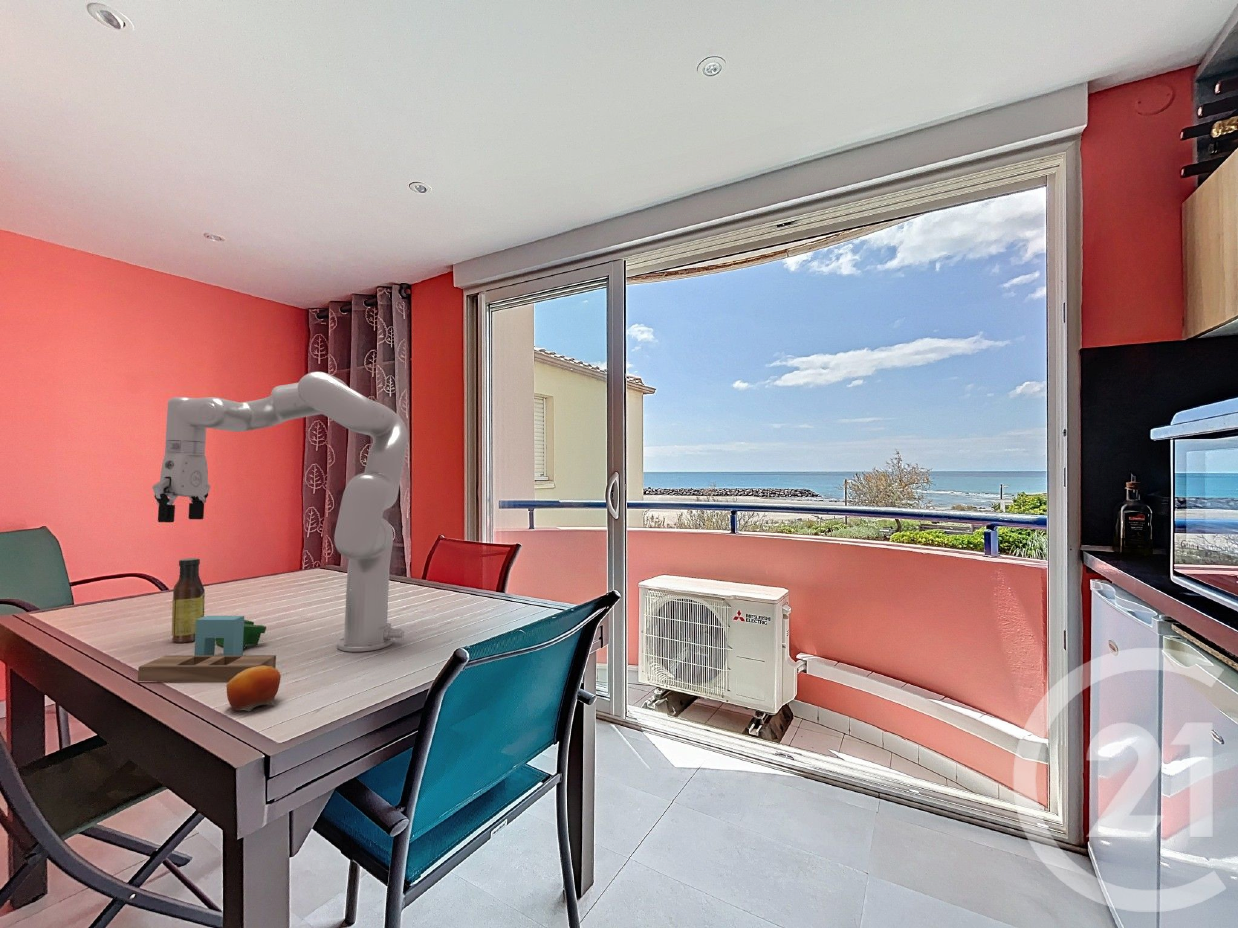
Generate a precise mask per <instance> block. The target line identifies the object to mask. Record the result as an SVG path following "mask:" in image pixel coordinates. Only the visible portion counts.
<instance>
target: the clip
mask: <svg viewBox="0 0 1238 928" xmlns="http://www.w3.org/2000/svg"><path fill="white" fill-rule="evenodd" d="M244 620H245V615H204V617H202V618H199V619H196V631H195V641H194V650H193V651H194V653H193V654H194V655H216V654H215V649H216V642H215V639H216V638H224V647H223V649H222V650H223V652H222V653H223V654H222V655H243V654H244V653H243V651H244V649H243V633H244Z"/></svg>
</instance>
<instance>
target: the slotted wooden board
mask: <svg viewBox="0 0 1238 928" xmlns="http://www.w3.org/2000/svg"><path fill="white" fill-rule="evenodd" d="M276 660H277V655H276V654H275V655H274V654H272V655H271V654H269V655H268V654H266V655H265V654H264V655H262V654H261V655H259V654H257V655H256V654H255V655H254V654H253V655H251V654H250V655H248V654H247V655H243V654H242V655H223V654H222V655H219V654H218V655H217V654H215V655H193V654H191V655H186V654H185V655H180V654H179V655H164V656H160V657H158V658H157V659H154V660H151V661H149V662H147V663H144V664H142V665H140V666H138V672H137V682H138V681H157V682H156V683H228V682H229V681H230V680H231V679H232V678H234V677H235V676H236V675H237V674H238V673H240V672H242V671H244V670H246V669H248V668H251V667H257V666H271V667H273V668H275V669H276V664H277V663H276V662H277V661H276Z"/></svg>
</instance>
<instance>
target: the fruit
mask: <svg viewBox="0 0 1238 928" xmlns="http://www.w3.org/2000/svg"><path fill="white" fill-rule="evenodd" d="M281 676H282V675H281V673H280V671H279V670H278V669H277V668H276V667H275V668H273V667H271V666H257V667H251V668H248V669H246V670H244V671H242V672H240V673H238V674H237V675H236V676H235V677H234V678H232V679H231V680H230V681H229V682H227V683H226V697H227V698H226V699H227V701H228V703H229V706H230V707H231V708H232V709H234V710H236V711H246V712H248V713H250V712H251V710H253V709H254V708H256V707H259V706H265V705H266V706H267V705H270V706H273V707H275V705H274V704H273V701H274V700H275V698H276V695H277V694H278V692H279V688H280V684H281V679H282V677H281Z"/></svg>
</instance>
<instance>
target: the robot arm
mask: <svg viewBox="0 0 1238 928" xmlns="http://www.w3.org/2000/svg"><path fill="white" fill-rule="evenodd" d="M319 415H323V416H325V417H327V418H329V419H330V420H332V421H334V422H335V423H337V424H339V425H341V426H343V427H344V428H346V429H347V430H350V431H353V432H354V433H358V434H361V435H362V434H363V435H366V436H367V435H368V436H370V437H371V438H372V443H371V446H370V448H369V450H368V453H367V458H366V462H365V463H366V464H365V468H364V471H363V472H361V473H359V474H357V475H355V476H353V477H352V478H351V479H350V480H349V481H348V483H347V485H346V487H345V489H344V491H343V494H342V498H341V502H340V507H339V511H338V517H337V522H336V527H335V531H334V537H333V538H334V539H333V540H334V545H335V548H336V550H337V552H338V553H339V554H340V555H341V556H343V557H344V558H346V559H348V565H347V573H346V586H345V587H346V592H345V609H344V611H345V616H344V636H343V638H340V639H339V640H338V641H336V648H337V649H338V650H340V651H343V652H352V653H353V652H354V653H356V652H359V653H360V652H370V651H376V650H380V649H381V650H382V649H383V648H386V647H389V646H391V645H392V644H393V643H394V639H403V638H404V637H405V630H404V629H403V628H393V627H392V622H388V613H389V612H388V610H389V608H388V607H389V591H390V590H389V588H390V587H389V586H390V568H391V566H390V565H391V557H392V551H393V544H394V532H393V527H392V525H391V524H390V523H389V521H388V520H387V519H385V518H383V514H384V511H386V510H388V509H390V508H391V507H393V505H394V504H396V502H397V499H398V497H399V496H398V495H399V490H400V484H401V481H402V474H403V472H404V464H405V459H406V454H407V448H408V441H409V434H408V429H407V426H406V424H405V422H404V420H403V419H402V417H401V416H400V415H398V414H397V413H396V412H395V411H394V410H392V409H391V408H390V407H388V406H386V405H385V404H382V403H380V402H378V401H375V400H373V399H370V398H368V397H366V396H365V395H363V394H361V393H359V392H358V391H356V390H354V389H352V388H351V387H349V386H348V385H347V384H346V382H344V381H343V380H341V379H340V378H338V377H336V376H334V375H331V374H329V373H326V372H323V371H311V372H309V373H306V374H305V375H304V376H302V377H301V378H300V380H299V382H294V383H289V384H282V385H277V386H274V388H272V390H271V393H270V395H269V396H267V397H265V398H260V399H255V400H248V401H243V402H240V401H239V402H238V401H234V400H229V399H227V398H222V397H215V396H213V397H212V396H211V397H208V396H207V397H199V398H197V397H196V398H194V397H185V396H184V397H183V396H181V397H180V396H179V397H172V398H170V399H169V400H168V401H167V410H166V427H165V429H166V430H165V445H164V446H165V447H164V456H163V459H162V465H161V470H160V476H159V481H158V482H156V483H155V484H154V485H153V486H152V488H151V489H152V491H153V495H154V496H153V497H154V499H155V500H156V505H157V506H158V509H157V511H158V512H157V513H158V514H157V522H158V523H174V521H175V516H176V515H175V514H176V504H174V502H175V501H176V500H177V498H178V497H187V498H189V500H190V501H191V502H189V503H188V519H189V520H203V519H204V518H205V517H204V516H205V515H204V514H205V504H206V502H207V498H208V496H209V492H210V490H211V485H210V484H209V469H208V468H209V467H208V461H207V460H208V459H207V457H206V440H207V439H206V438H207V429H213V430H219V431H227V432H233V433H239V432H249V431H254V430H260V429H261V430H262V429H264V428H265V429H266V428H270V427H273V426H276V425H279V424H280V425H281V424H283V423H285V422H286V421H290V420H292V421H293V420H295V419H302V418H308V417H312V416H319Z"/></svg>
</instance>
